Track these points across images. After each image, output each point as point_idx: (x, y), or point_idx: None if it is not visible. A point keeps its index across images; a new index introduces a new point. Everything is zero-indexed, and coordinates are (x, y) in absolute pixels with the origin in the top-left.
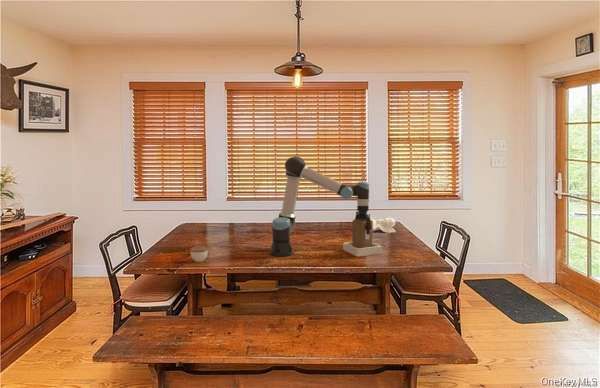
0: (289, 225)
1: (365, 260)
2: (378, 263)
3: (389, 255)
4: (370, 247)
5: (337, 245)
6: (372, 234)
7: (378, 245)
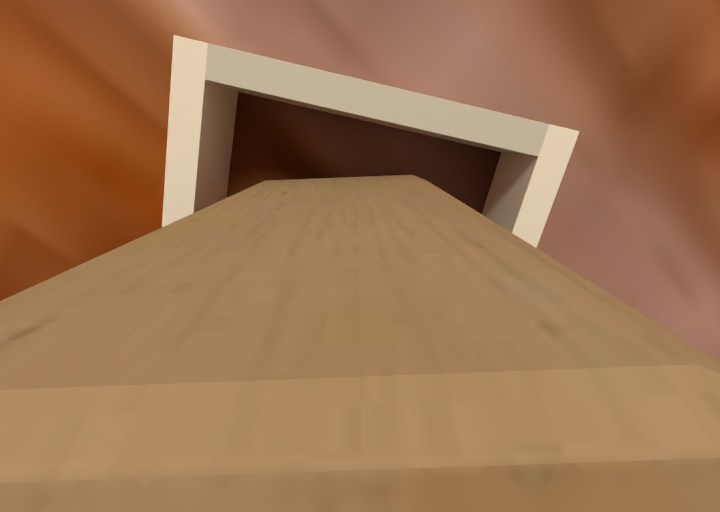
0: None
1: None
2: None
3: (631, 118)
4: None
5: (3, 285)
6: (475, 211)
7: (512, 139)
